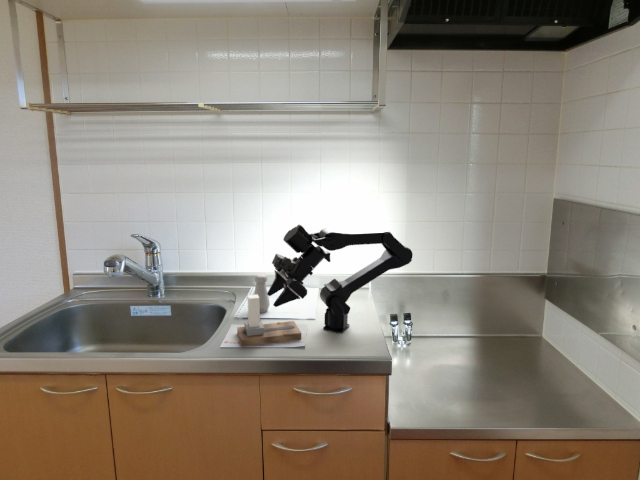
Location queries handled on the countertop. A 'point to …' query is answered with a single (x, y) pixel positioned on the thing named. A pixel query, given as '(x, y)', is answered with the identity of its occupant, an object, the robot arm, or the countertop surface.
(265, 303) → the salt shaker
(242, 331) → the brown slider track board
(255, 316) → the fader tab
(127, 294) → the countertop surface
